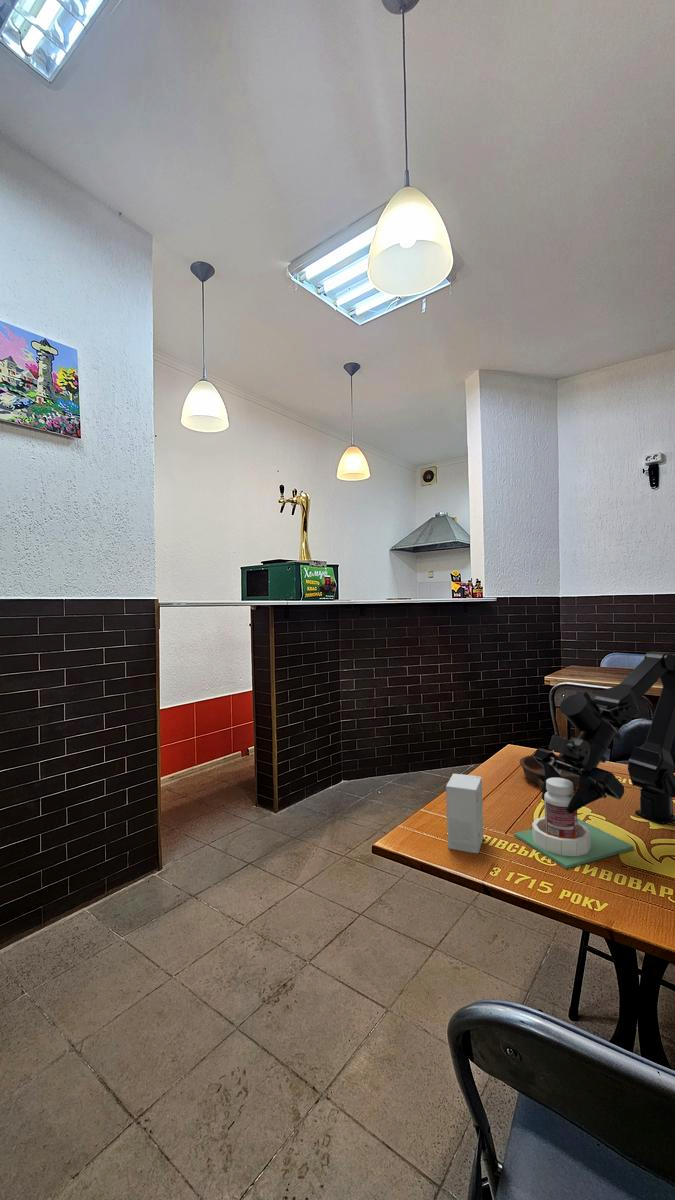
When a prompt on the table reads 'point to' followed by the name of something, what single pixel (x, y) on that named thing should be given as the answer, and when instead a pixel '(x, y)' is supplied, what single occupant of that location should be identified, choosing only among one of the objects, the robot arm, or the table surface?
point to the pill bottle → (560, 809)
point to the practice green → (573, 844)
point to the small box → (464, 813)
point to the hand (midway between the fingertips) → (555, 805)
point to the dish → (542, 771)
